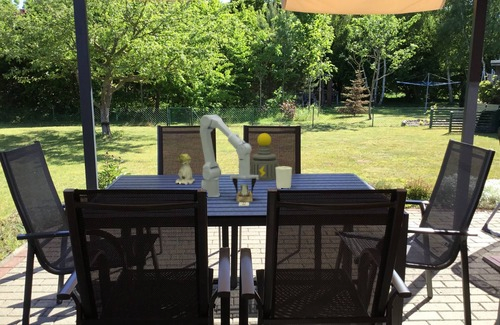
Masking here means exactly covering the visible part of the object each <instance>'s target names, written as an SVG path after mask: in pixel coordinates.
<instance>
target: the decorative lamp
mask: <svg viewBox="0 0 500 325" xmlns="http://www.w3.org/2000/svg"><path fill="white" fill-rule="evenodd" d="M271 142H272V137H271V136H270V135H269V134H268V133H266V132H264V133H261V134H259V135H258V136H257V144H258V146H259V148H258V151H257V153H254V154H253V155H252V158H251V159H250V160H251V161H250V175H258V179H256V181H259V182H260V181H264V182H265V181H267V182H268V181H276V169H275V168H276V167H280V163H279V161H278V159H277V155H276V154H275V153H272V151H271V148H270V145H271Z"/></svg>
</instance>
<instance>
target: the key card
mask: <svg viewBox="0 0 500 325" xmlns="http://www.w3.org/2000/svg"><path fill="white" fill-rule="evenodd" d="M249 205H250V202H238V206H239V207H249Z"/></svg>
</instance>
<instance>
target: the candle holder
mask: <svg viewBox="0 0 500 325" xmlns="http://www.w3.org/2000/svg"><path fill="white" fill-rule="evenodd" d="M275 169H276V179H275V183H276V188H277V189H278V190H282V189H281V188H289V189H291V185H292V176H293V175H292V172H293V167H291V166H279V167H276V168H275Z"/></svg>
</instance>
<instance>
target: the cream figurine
mask: <svg viewBox="0 0 500 325" xmlns="http://www.w3.org/2000/svg"><path fill="white" fill-rule="evenodd" d="M192 160H193V159H192V158H191V156H190V154H188V153H181V154H179V155H178V157H177V161H178V162H179V163H180V164H182V165H181V166H180V168H179V171H178V177H179V178H177V179H175V184H178V183H179V185H181V184H185V185H188V184H189V185H191V184H192V183H194V181H195V178H193V170H192V168H191V165H190V163H191V161H192Z"/></svg>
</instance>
